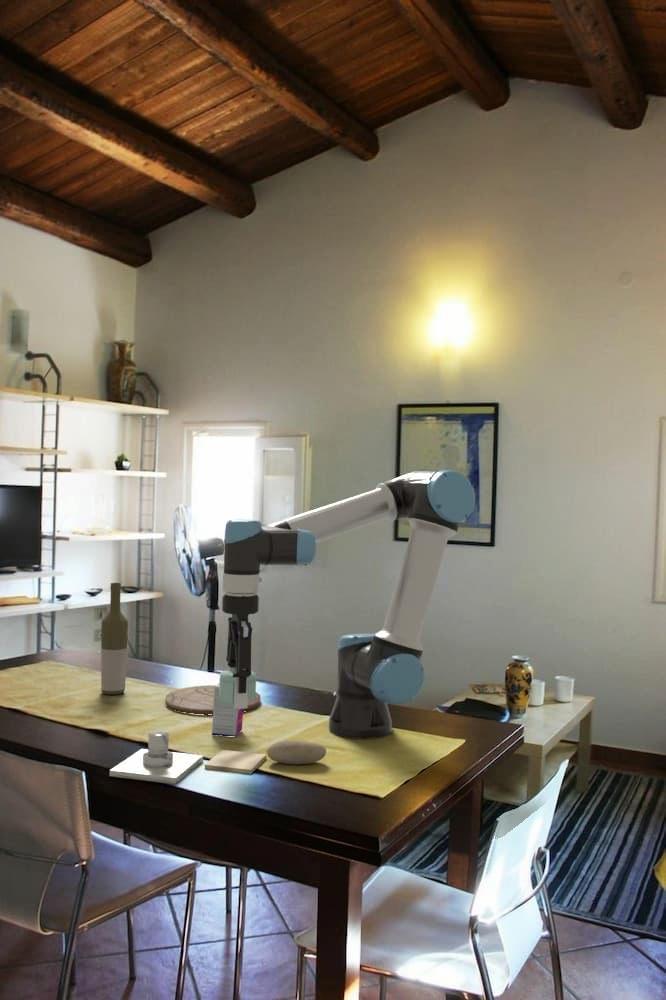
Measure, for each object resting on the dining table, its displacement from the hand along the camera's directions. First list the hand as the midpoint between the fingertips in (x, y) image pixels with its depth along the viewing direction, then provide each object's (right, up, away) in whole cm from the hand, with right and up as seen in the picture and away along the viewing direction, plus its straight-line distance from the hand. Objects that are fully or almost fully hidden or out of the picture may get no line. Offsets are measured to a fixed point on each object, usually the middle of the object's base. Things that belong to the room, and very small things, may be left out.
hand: (237, 702), depth 175 cm
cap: (0, +1, 0) cm, 1 cm away
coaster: (0, -13, 0) cm, 13 cm away
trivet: (-12, -12, +47) cm, 50 cm away
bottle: (-40, -11, +54) cm, 68 cm away
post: (-16, -12, -4) cm, 20 cm away
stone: (+12, -13, +2) cm, 18 cm away
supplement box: (-5, -12, +21) cm, 25 cm away
